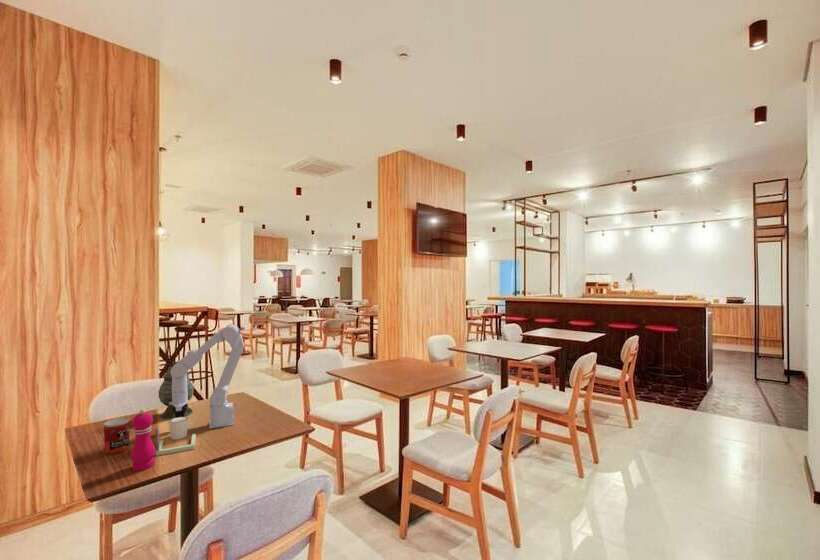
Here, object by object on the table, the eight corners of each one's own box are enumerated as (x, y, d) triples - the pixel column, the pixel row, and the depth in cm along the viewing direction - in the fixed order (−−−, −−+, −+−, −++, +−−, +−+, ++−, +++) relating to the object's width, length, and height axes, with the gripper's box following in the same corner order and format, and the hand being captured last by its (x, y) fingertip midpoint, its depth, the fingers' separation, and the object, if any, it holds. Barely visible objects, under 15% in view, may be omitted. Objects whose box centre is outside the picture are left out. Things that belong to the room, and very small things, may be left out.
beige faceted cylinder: (179, 440, 157) (179, 423, 157) (165, 439, 158) (164, 422, 158) (192, 433, 164) (192, 417, 163) (178, 432, 165) (178, 416, 165)
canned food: (110, 456, 143) (109, 426, 143) (100, 451, 148) (100, 422, 147) (133, 448, 150) (133, 420, 150) (124, 443, 154) (123, 416, 154)
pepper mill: (138, 461, 139) (137, 406, 139) (160, 461, 140) (159, 405, 139) (125, 472, 132) (124, 413, 132) (148, 471, 132) (147, 412, 132)
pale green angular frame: (195, 437, 160) (195, 413, 159) (194, 448, 149) (193, 422, 149) (152, 444, 153) (152, 419, 153) (148, 457, 142) (147, 430, 142)
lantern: (152, 419, 180) (151, 365, 179) (171, 408, 194) (170, 358, 194) (182, 419, 179) (181, 365, 179) (199, 408, 194) (198, 358, 193)
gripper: (170, 388, 173) (171, 418, 173) (167, 397, 160) (167, 430, 160) (189, 385, 176) (189, 415, 176) (186, 394, 163) (187, 427, 163)
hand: (180, 422), depth 168 cm, fingers closed
